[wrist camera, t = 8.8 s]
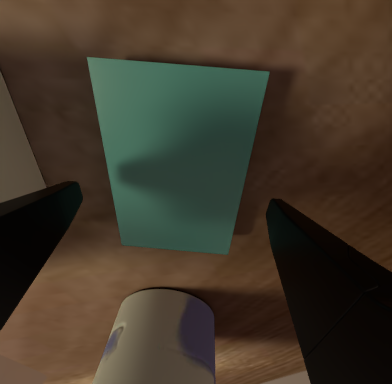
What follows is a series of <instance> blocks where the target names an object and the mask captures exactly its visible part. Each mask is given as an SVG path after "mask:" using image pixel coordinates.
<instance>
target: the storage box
mask: <svg viewBox="0 0 392 384" xmlns="http://www.w3.org/2000/svg"><path fill="white" fill-rule="evenodd" d="M45 188H47V187H46V185H45V182H44V180H43V177H42V175H41V172H40V170H39V167H38V165H37V162H36V160H35V157H34V154H33V152H32V149H31V147H30V144H29V142H28V139H27V137H26V134H25V132H24V129H23V127H22V124H21V122H20V119H19V117H18V114H17V112H16V109H15V107H14V104H13V101H12V99H11V96H10V94H9V91H8V89H7V86H6V84H5V81H4V79H3V76H2V74H1V71H0V203H2V202H5V201H8V200H11V199H14V198H17V197H20V196H23V195H26V194H29V193H32V192H36V191H39V190H42V189H45Z"/></svg>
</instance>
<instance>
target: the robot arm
mask: <svg viewBox="0 0 392 384" xmlns="http://www.w3.org/2000/svg"><path fill="white" fill-rule="evenodd" d="M82 200H83V196H82V192H81V189H80V186H79V183H78V182H74V181H66V182H63V183H60V184H57V185H54V186H51V187H48V188H45V189H42V190H39V191H36V192H32V193H29V194H26V195H23V196H20V197H17V198H14V199H11V200H8V201H5V202H2V203H0V330H1V329H2V328H3V326H4V325H5V323H6V322H7V320H8V319H9V317H10V316H11V314H12V313H13V311H14V310H15V308H16V307H17V305H18V304H19V302H20V301H21V299H22V298H23V296H24V295H25V293H26V292H27V290H28V288H29V287H30V285H31V284H32V282H33V281H34V279H35V278H36V276H37V275H38V273H39V272H40V270H41V269H42V267H43V266H44V264H45V263H46V261H47V260H48V258H49V257H50V255H51V254H52V252H53V251H54V249H55V248H56V246H57V245H58V243H59V242H60V240H61V239H62V237H63V236H64V234H65V233H66V231H67V229H68V228H69V226H70V224H71V222H72V220H73V218H74V216H75V215H76V213H77V211H78V209H79V207H80V205H81V203H82ZM266 220H267V226H268V232H269V239H270V244H271V248H272V252H273V255H274V259H275V262H276V266H277V269H278V273H279V276H280V279H281V283H282V286H283V290H284V293H285V297H286V300H287V303H288V307H289V310H290V314H291V317H292V321H293V324H294V327H295V331H296V334H297V338H298V341H299V345H300V348H301V351H302V355H303V358H304V359H305V360H304V362H305V366H306V369H307V372H308V376H309V379H310V383H311V384H392V272H391V271H389V270H387V269H386V268H384V267H382V266H381V265H379V264H378V263H376V262H374V261H373V260H371V259H370V258H368V257H367V256H365V255H363V254H362V253H360V252H359V251H357V250H356V249H354V248H353V247H351V246H350V245H348V244H347V243H345V242H344V241H342V240H341V239H340V238H338V237H337V236H335V235H334V234H332V233H331V232H329V231H328V230H326V229H325V228H323V227H322V226H320V225H319V224H317V223H316V222H314V221H313V220H311V219H310V218H308V217H307V216H305V215H304V214H302V213H301V212H299V211H298V210H296V209H295V208H293V207H292V206H290V205H289V204H287V203H286V202H284V201H283V200H282V199H275V198H272V199H271V200H270V203H269V206H268V209H267V212H266Z"/></svg>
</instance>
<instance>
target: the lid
mask: <svg viewBox="0 0 392 384" xmlns="http://www.w3.org/2000/svg"><path fill="white" fill-rule="evenodd" d="M87 61H88V66H89V71H90V77H91V82H92V87H93V93H94V98H95V104H96V109H97V114H98V120H99V125H100V130H101V136H102V141H103V146H104V152H105V157H106V163H107V168H108V173H109V179H110V184H111V189H112V195H113V200H114V205H115V211H116V216H117V222H118V227H119V232H120V238H121V243H122V245H125V246H136V247H147V248H158V249H170V250H181V251H192V252H203V253H214V254H225V255H228V253H229V248H230V244H231V239H232V235H233V231H234V226H235V222H236V217H237V213H238V209H239V204H240V200H241V195H242V191H243V187H244V182H245V178H246V174H247V169H248V165H249V160H250V156H251V152H252V147H253V143H254V138H255V134H256V130H257V125H258V121H259V116H260V112H261V108H262V103H263V99H264V94H265V90H266V86H267V81H268V77H269V72H267V71H256V70H244V69H231V68H219V67H206V66H194V65H181V64H169V63H157V62H144V61H132V60H119V59H107V58H94V57H87Z"/></svg>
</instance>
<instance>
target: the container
mask: <svg viewBox="0 0 392 384" xmlns="http://www.w3.org/2000/svg"><path fill="white" fill-rule="evenodd" d="M92 384H215V334H214V314H213V312H212V310H211V309H210V307H209V306H208V305H207V304H206V303H204V302H203V301H201V300H200V299H198V298H196V297H194V296H192V295H189V294H187V293H184V292H180V291H175V290H168V289H150V290H144V291H140V292H136V293H134V294H132V295H130V296H128V297H127V298H126V299H125V300H124V301H123V302H122V304H121V307H120V310H119V312H118V315H117V318H116V320H115V323H114V326H113V329H112V331H111V334H110V337H109V340H108V342H107V345H106V348H105V350H104V353H103V356H102V359H101V361H100V364H99V367H98V369H97V372H96V375H95V378H94V380H93V383H92Z"/></svg>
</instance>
